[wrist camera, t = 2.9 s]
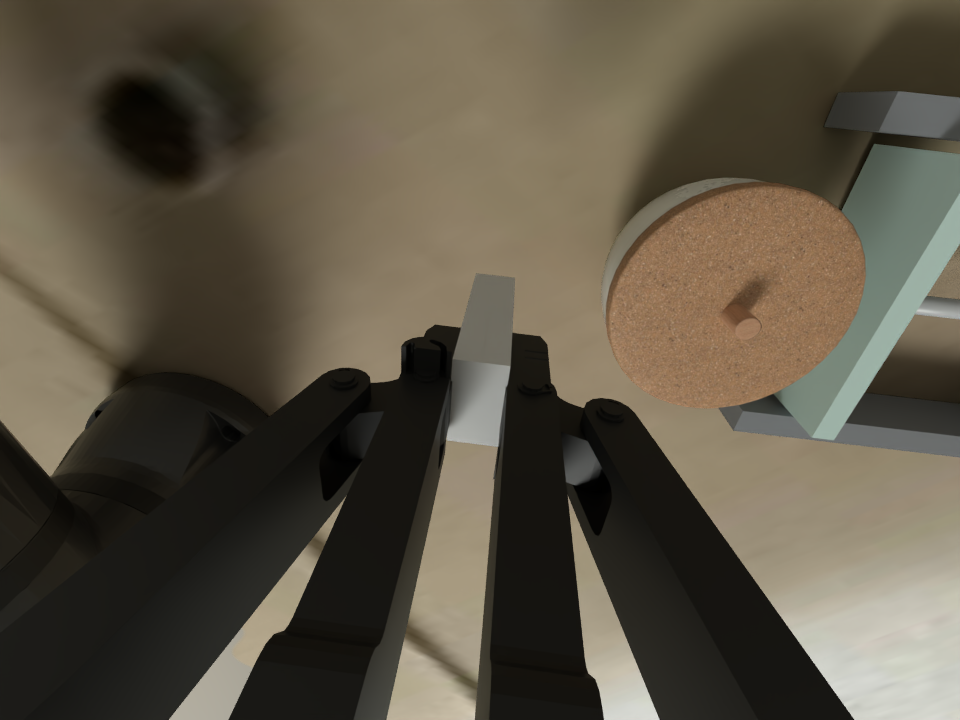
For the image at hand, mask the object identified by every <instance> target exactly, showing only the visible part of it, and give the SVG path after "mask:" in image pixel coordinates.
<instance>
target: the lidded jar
mask: <svg viewBox="0 0 960 720" xmlns="http://www.w3.org/2000/svg"><path fill="white" fill-rule="evenodd" d="M865 278H866V267H865V255H864V251H863V247H862V243H861V240H860V238H859V236H858V234H857V232H856V230H855V228H854V226H853V224H852V223H851V222H850V221H849V219H848V218H847V217H846V216H845V215H844V213H843V212H842V211H841V210H840V209H838V208H837V207H836V206H834V205H833V204H832V203H830V202H829V201H828V200H826V199H824V198H822V197H820V196H818V195H816V194H814V193H812V192H809V191H807V190H804V189H801V188H797V187H793V186H789V185H785V184H780V183H770V182H764V181H759V180H755V179H744V178H716V179H707V180H702V181H698V182H694V183H690V184H686V185H683V186H680V187H678V188H675V189H673V190H670V191H668V192H666V193H664V194H663V195H661V196H659V197H657V198H656V199H654V200H652V201H651V202H650V203H649V204H647V205H646V206H645V207H643V208H642V209H641V210H639V211H638V212H637V213H636V214H635V215H634V216H633V217H632V219H631V220H630V221H629V222H628V223H627V224H626V225H625V227H624V228H623V229H622V231H621V232H620V233H619V235H618V236H617V238H616V240H615V242H614V243H613V245H612V247H611V249H610V252H609V254H608V257H607V260H606V263H605V267H604V272H603V277H602V284H601V301H602V309H603V316H604V320H605V324H606V327H607V334H608V339H609V342H610V344H611V347H612V350H613V353H614V356H615V358H616V360H617V361H618V363H619V365H620V367H621V368H622V370H623V371H624V372H625V373H626V375H627V376H628V377H629V378H630V379H631V381H633V382H634V383H635V384H636V385H637V386H639V387H640V388H641V389H642V390H644V391H645V392H647V393H649V394H651V395H652V396H654V397H656V398H658V399H661V400H664V401H666V402H669V403H672V404H677V405H681V406H686V407H696V408H721V407H729V406H735V405H741V404H745V403H748V402H751V401H755V400H758V399H761V398H763V397H766V396H769V395H771V394H774V393H776V392H778V391H780V390H782V389H783V388H785V387H787V386H789V385H791V384H793V383H794V382H796V381H797V380H799V379H800V378H802V377H803V376H805V375H806V374H808V373H809V372H810V371H811V370H812V369H814V368H815V367H816V366H817V365H818V364H819V363H821V362H822V361H823V360H824V359H825V358H826V357H827V356H828V355H829V353H830V352H831V351H832V350H833V349H834V348H835V347H836V346H837V345H838V343H839V342H840V340H841V339H842V338H843V336H844V335H845V333H846V332H847V330H848V329H849V327H850V325H851V323H852V321H853V319H854V317H855V316H856V314H857V311H858V308H859V305H860V302H861V299H862V296H863V290H864V284H865Z"/></svg>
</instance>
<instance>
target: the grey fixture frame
mask: <svg viewBox="0 0 960 720" xmlns="http://www.w3.org/2000/svg"><path fill="white" fill-rule="evenodd" d="M824 127H830V128H839V129H848V130H858V131H867V132H876V133H886V134H895V135H904V136H914V137H923V138H932V139H942V140H951V141H960V98H959V97H949V96H940V95H930V94H921V93H912V92H902V91H881V92H839V93H838V94H837V97H836V99H835V102H834V104H833V106H832V109H831V111H830V113H829V116H828V118H827V120H826V123H825V125H824ZM719 409H720V411H721V412H722V414H723V416H724V417H725V419H726V420H727V422H728V423H729V425H730V426H731V428H732V429H733V431H741V432H749V433H758V434H766V435H775V436H783V437H792V438H800V439H809V440H817V441H826V442H834V443H843V444H851V445H860V446H868V447H877V448H885V449H894V450H902V451H911V452H919V453H928V454H936V455H945V456H953V457H960V404H957V403H948V402H940V401H931V400H923V399H914V398H905V397H897V396H888V395H879V394H871V393H864V394H863V396H862V397H861V399H860V400H859V402H858V403H857V405H856V407H855V408H854V410H853V411H852V413H851V414H850V416H849V417H848V419H847V421H846V422H845V424H844V425H843V427H842V428H841V430H840V432H839V433H838V435H837V436H836V438H835V439H834V440H827V439H819V438H812V437H811V436H810V435H809V434H808V433H807V432H806V431H805V429H804V428H803V427H802V426H801V425H800V424H799V423H798V421H797V420H796V419H795V418H794V417H793V416H792V415H791V413H790V412H789V411H788V410H787V409H786V408H785V407H784V405H783V404H782V403H781V402H780V401H779V400H778V399H777V397H776V396H775V395H774V394H771V395H769V396H766V397H763V398H761V399H758V400H755V401H751V402H748V403H745V404H741V405H735V406H729V407H721V408H719Z"/></svg>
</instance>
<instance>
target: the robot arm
mask: <svg viewBox="0 0 960 720" xmlns="http://www.w3.org/2000/svg"><path fill="white" fill-rule="evenodd" d="M514 290H515V278H512V277H504V276H495V275H487V274H478V273H476V276H475V280H474V283H473V287H472V290H471V294H470V298H469V301H468V305H467V309H466V312H465V316H464V319H463V323H462V327H461V328H458V327H450V326H442V325H434V326H433V327H431V328H430V329H428V330H427V331H426V333H425V335H424V337H417V338H412V339H410V340H408V341H405V343H404V344H403V345H402V346H401V374H400V377H399V379H397V380H393V381H389V382H380V383H370V377H369V376H368V375H367V373H366V372H363V371H361V370H359V369H353V368H338V369H335V370H331V371H328V372H327V373H325V374H323V375H321V376H320V377H319V378H318V379H316V380H315V381H314V382H313V383H311V384H310V385H309V386H308V387H306V388H305V389H304V390H303V391H301V392H300V393H299V394H298V395H296V396H295V397H294V398H293V399H291V400H290V401H289V402H288V403H286V404H285V405H284V406H283V407H281V408H280V409H279V410H278V411H276V412H275V413H274V414H273V415H271V416H270V417H269V418H268V417H267V416H266V415H265V414H264V413H263V412H262V411H261V410H260V409H259V408H258V407H256V406H255V405H254V404H253V403H251V402H250V401H248V400H247V399H246V398H244V397H242V396H241V395H239V394H238V393H236V392H234V391H232V390H230V389H228V388H226V387H224V386H222V385H220V384H217V383H215V382H212V381H209V380H206V379H203V378H199V377H196V376H191V375H186V374H178V373H156V374H150V375H145V376H142V377H139V378H136V379H134V380H132V381H130V382H128V383H127V384H125V385H124V386H122V387H121V388H120V389H118V390H117V391H116V392H114V393H113V394H111V395H110V396H109V397H107V398H106V399H105V400H104V401H102V402H101V403H100V404H99V405H98V407H97V408H96V409H95V410H94V411H93V413H92V414H91V416H90V418H89V419H88V421H87V424H86V427H85V430H84V431H83V432H82V433H81V434H80V436H79V437H78V438H77V439H76V441H75V442H74V443H73V445H72V446H71V448H70V449H69V450H68V452H67V453H66V455H65V456H64V458H63V460H62V461H61V463H60V464H59V466H58V467H57V469H56V470H55V472H54V473H53V474H52V475H51V476H50V477H49V476H48V474H47V473H46V472H45V471H44V470H43V469H42V468H41V466H40V465H39V464H38V463H37V462H36V461H35V460H34V458H33V457H32V456H31V455H30V454H29V453H28V451H27V450H26V449H25V448H24V447H23V446H22V445H21V443H20V442H19V441H18V440H17V439H16V438H15V437H14V435H13V434H12V433H11V432H10V431H9V430H8V429H7V427H6V426H5V425H4V424H3V423H2V422H1V421H0V720H169V718H170V717H171V716H172V715H173V713H174V712H175V711H176V709H177V708H178V707H179V706H180V705H181V703H182V702H183V701H184V699H185V698H186V697H187V696H188V694H189V693H190V692H191V691H192V689H193V688H194V687H195V686H196V684H197V683H198V682H199V681H200V679H201V678H202V677H203V675H204V674H205V673H206V672H207V671H208V669H209V668H210V667H211V666H212V664H213V663H214V662H215V660H216V659H217V658H218V657H219V655H220V654H221V653H222V652H223V650H224V649H225V648H226V647H227V645H228V644H229V643H230V642H231V640H232V639H233V638H234V636H235V635H236V634H237V633H238V631H239V630H240V629H241V628H242V626H243V625H244V624H245V623H246V621H247V620H248V619H249V618H250V616H251V615H252V614H253V613H254V611H255V610H256V609H257V608H258V606H259V605H260V604H261V602H262V601H263V600H264V599H265V597H266V596H267V595H268V594H269V592H270V591H271V590H272V589H273V587H274V586H275V585H276V584H277V582H278V581H279V580H280V579H281V577H282V576H283V575H284V574H285V572H286V571H287V570H288V568H289V567H290V566H291V565H292V563H293V562H294V561H295V560H296V558H297V557H298V556H299V555H300V553H301V552H302V551H303V550H304V548H305V547H306V546H307V545H308V543H309V542H310V541H311V539H312V538H313V537H314V536H315V534H316V533H317V532H318V531H319V529H320V528H321V527H322V526H323V524H324V523H325V522H326V521H327V519H328V518H329V517H330V516H331V514H332V513H333V512H334V510H335V509H336V508H337V507H338V505H339V504H340V503H341V502H342V500H343V499H344V498H345V497H346V498H345V501H344V503H343V505H342V507H341V510H340V512H339V514H338V517H337V519H336V521H335V523H334V526H333V528H332V530H331V532H330V535H329V537H328V539H327V541H326V544H325V546H324V548H323V550H322V553H321V555H320V557H319V559H318V562H317V564H316V566H315V568H314V571H313V573H312V575H311V577H310V580H309V582H308V584H307V586H306V589H305V591H304V593H303V595H302V598H301V600H300V602H299V604H298V607H297V609H296V611H295V613H294V616H293V618H292V620H291V622H290V624H289V625H288V627H287V628H286V629H285V630H284V631H282V632H279V633H276V634H274V635H273V636H272V637H271V638H270V639H269V641H268V642H267V643H266V644H265V646H264V648H263V650H262V652H261V653H260V655H259V657H258V659H257V661H256V663H255V665H254V667H253V669H252V671H251V673H250V676H249V678H248V680H247V682H246V684H245V686H244V688H243V690H242V692H241V695H240V697H239V699H238V701H237V703H236V705H235V707H234V709H233V711H232V714H231V716H230V718H229V720H386V719H387V714H388V709H389V705H390V700H391V696H392V691H393V687H394V682H395V677H396V673H397V668H398V664H399V659H400V655H401V650H402V646H403V641H404V637H405V632H406V627H407V623H408V618H409V614H410V609H411V605H412V600H413V596H414V591H415V587H416V582H417V577H418V573H419V568H420V564H421V559H422V555H423V550H424V546H425V541H426V537H427V532H428V528H429V523H430V518H431V514H432V509H433V505H434V500H435V496H436V491H437V487H438V482H439V478H440V473H441V468H442V464H443V459H444V455H445V445H446V436H447V440H449V441H456V442H464V443H472V444H480V445H488V446H495V447H498V451H497V458H496V464H495V471H494V478H493V479H495V481H494V493H493V505H492V518H491V530H490V542H489V554H488V566H487V578H486V591H485V603H484V615H483V627H482V639H481V651H480V664H479V676H478V688H477V700H476V712H475V720H604V718H603V710H602V704H601V698H600V693H599V689H598V686H597V683H596V680H595V679H594V678H593V677H592V676H591V675H589V674H588V671H587V668H586V663H585V657H584V647H583V638H582V628H581V619H580V609H579V600H578V590H577V581H576V571H575V562H574V552H573V543H572V533H571V524H570V514H569V504H568V497H569V499H570V501H571V504H572V506H573V509H574V511H575V514H576V516H577V519H578V521H579V523H580V526H581V528H582V531H583V533H584V536H585V538H586V541H587V543H588V545H589V548H590V550H591V553H592V555H593V558H594V560H595V563H596V565H597V567H598V570H599V572H600V575H601V577H602V580H603V582H604V585H605V587H606V589H607V592H608V594H609V597H610V599H611V602H612V604H613V607H614V609H615V611H616V614H617V616H618V619H619V621H620V624H621V626H622V629H623V631H624V633H625V636H626V638H627V641H628V643H629V646H630V648H631V651H632V653H633V655H634V658H635V660H636V663H637V665H638V668H639V670H640V673H641V675H642V677H643V680H644V682H645V685H646V687H647V690H648V692H649V695H650V697H651V699H652V702H653V704H654V707H655V709H656V712H657V714H658V717H659V719H660V720H854V719H853V717H852V716H851V714H850V713H849V712H848V710H847V709H846V707H845V706H844V705H843V703H842V702H841V700H840V699H839V698H838V696H837V695H836V693H835V692H834V691H833V689H832V688H831V687H830V685H829V684H828V682H827V681H826V680H825V678H824V677H823V675H822V674H821V673H820V671H819V670H818V668H817V667H816V666H815V664H814V663H813V661H812V660H811V659H810V657H809V656H808V654H807V653H806V652H805V650H804V649H803V647H802V646H801V645H800V643H799V642H798V640H797V639H796V638H795V636H794V635H793V633H792V632H791V631H790V629H789V628H788V626H787V625H786V624H785V622H784V621H783V619H782V618H781V617H780V615H779V614H778V612H777V611H776V610H775V608H774V607H773V605H772V604H771V603H770V601H769V600H768V598H767V597H766V596H765V594H764V593H763V591H762V590H761V589H760V587H759V586H758V584H757V583H756V582H755V580H754V579H753V577H752V576H751V575H750V573H749V572H748V571H747V569H746V568H745V566H744V565H743V564H742V562H741V561H740V559H739V558H738V557H737V555H736V554H735V552H734V551H733V550H732V548H731V547H730V545H729V544H728V543H727V541H726V540H725V538H724V537H723V536H722V534H721V533H720V531H719V530H718V529H717V527H716V526H715V524H714V523H713V522H712V520H711V519H710V517H709V516H708V515H707V513H706V512H705V510H704V509H703V508H702V506H701V505H700V503H699V502H698V501H697V499H696V498H695V496H694V495H693V494H692V492H691V491H690V489H689V488H688V487H687V485H686V484H685V482H684V481H683V480H682V478H681V477H680V475H679V474H678V473H677V471H676V470H675V468H674V467H673V466H672V464H671V463H670V461H669V460H668V459H667V457H666V456H665V454H664V453H663V452H662V450H661V449H660V448H659V446H658V445H657V443H656V442H655V441H654V439H653V438H652V436H651V435H650V434H649V432H648V431H647V429H646V428H645V427H644V425H643V424H642V422H641V421H640V420H639V418H638V417H637V415H636V414H635V413H634V412H633V411H632V410H631V409H630V408H629V407H628V406H626V405H624V404H622V403H621V402H618V401H616V400H612V399H604V398H598V399H592V400H590V401H589V402H587V403H586V405H585V407H584V408H581V407H578V406H575V405H573V404H570V403H568V402H566V401H564V400H562V399H560V398H559V397H558V396H557V391H556V389H555V387H554V385H552V384H551V379H550V368H549V358H548V347H547V344H546V342H545V341H544V340H543V339H542V338H541V337H540V336H533V335H525V334H517V333H512V328H513V309H514ZM567 494H568V495H567ZM346 495H347V496H346Z"/></svg>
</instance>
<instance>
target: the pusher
mask: <svg viewBox="0 0 960 720" xmlns="http://www.w3.org/2000/svg"><path fill="white" fill-rule="evenodd" d="M842 212H843V213H844V215H845V216H846V217H847V218H848V219H849V221H850V222H851V223H852V224H853V226H854V228H855V230H856V232H857V234H858V236H859V238H860V240H861V243H862V247H863V251H864V255H865V267H866V278H865V284H864V290H863V296H862V299H861V302H860V305H859V308H858V311H857V314H856V316H855V317H854V319H853V321H852V323H851V325H850V327H849V329H848V330H847V332H846V333H845V335H844V336H843V338H842V339H841V340H840V342H839V343H838V345H837V346H836V347H835V348H834V349H833V350H832V351H831V352H830V353H829V355H828V356H827V357H826V358H825V359H824V360H823V361H822V362H821V363H819V364H818V365H817V366H816V367H815V368H814V369H812V370H811V371H810V372H809V373H808V374H806V375H805V376H803V377H802V378H800V379H799V380H797V381H796V382H794V383H793V384H791V385H789V386H787V387H785V388H783V389H782V390H780V391H778V392H776V393H774V395H775V396H776V397H777V399H778V400H779V401H780V402H781V403H782V404H783V405H784V407H785V408H786V409H787V410H788V411H789V412H790V413H791V415H792V416H793V417H794V418H795V419H796V420H797V421H798V423H799V424H800V425H801V426H802V427H803V428H804V429H805V431H806V432H807V433H808V434H809V435H810V436H811V437H812V438H819V439H827V440H834V439H835V438H836V436H837V435H838V433H839V432H840V430H841V428H842V427H843V425H844V424H845V422H846V421H847V419H848V417H849V416H850V414H851V413H852V411H853V410H854V408H855V407H856V405H857V403H858V402H859V400H860V399H861V397H862V396H863V394H864V393H865V391H866V389H867V388H868V386H869V385H870V383H871V382H872V380H873V378H874V377H875V375H876V374H877V372H878V371H879V369H880V368H881V366H882V364H883V363H884V361H885V360H886V358H887V357H888V355H889V353H890V352H891V350H892V349H893V347H894V346H895V344H896V343H897V341H898V339H899V338H900V336H901V335H902V333H903V332H904V330H905V328H906V327H907V325H908V324H909V322H910V321H911V319H912V318H913V316H914V314H917V315H926V316H935V317H944V318H952V319H960V299H951V298H942V297H933V296H927V294H928V293H929V291H930V289H931V288H932V286H933V285H934V283H935V282H936V280H937V279H938V277H939V275H940V274H941V272H942V271H943V269H944V268H945V266H946V264H947V263H948V261H949V260H950V258H951V257H952V255H953V254H954V252H955V250H956V249H957V247H958V246H959V244H960V154H956V153H948V152H940V151H931V150H923V149H915V148H907V147H899V146H889V145H880V144H874V145H873V147H872V149H871V151H870V153H869V156H868V158H867V160H866V162H865V164H864V166H863V168H862V170H861V172H860V174H859V176H858V178H857V180H856V182H855V184H854V186H853V188H852V190H851V192H850V194H849V197H848V199H847V201H846V203H845V205H844V207H843V209H842Z"/></svg>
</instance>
